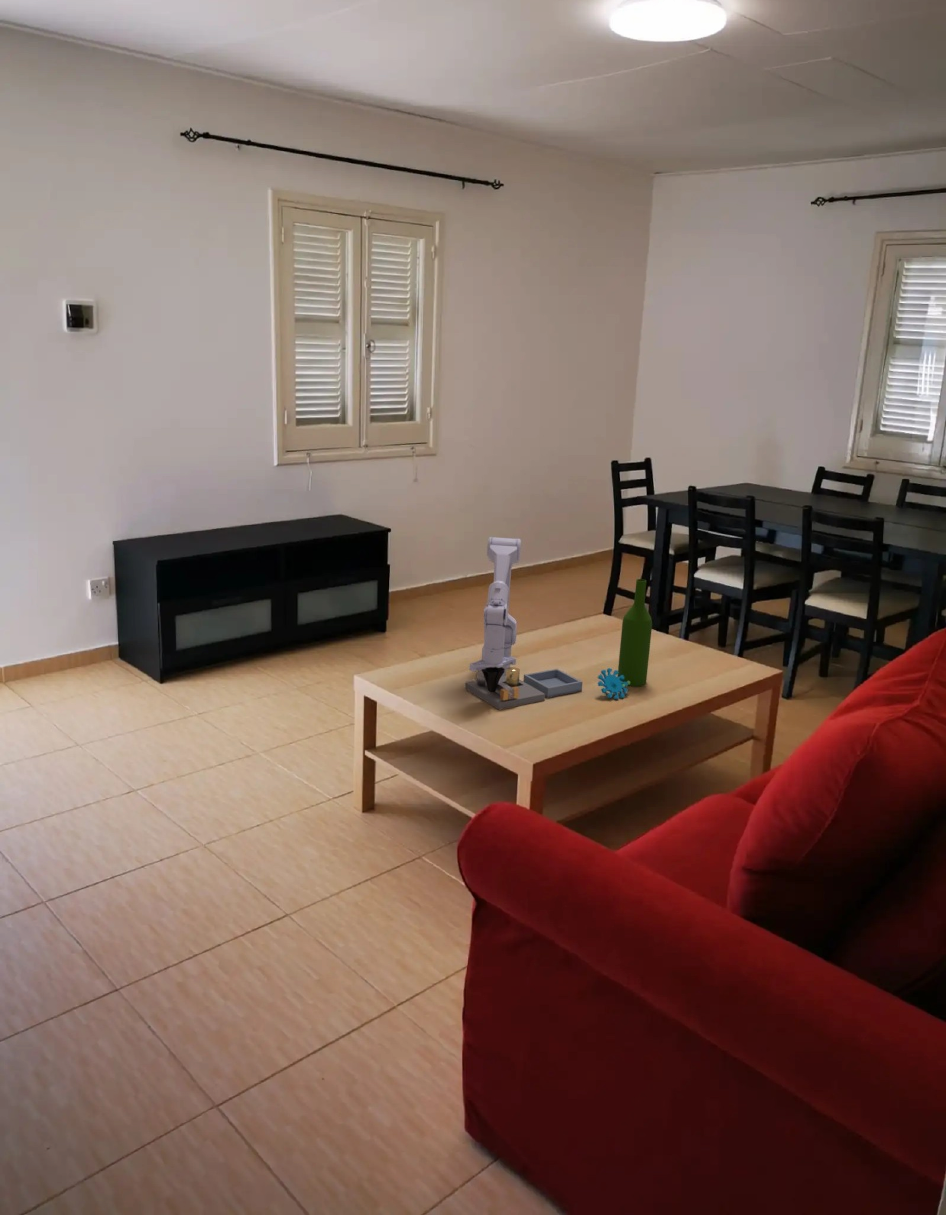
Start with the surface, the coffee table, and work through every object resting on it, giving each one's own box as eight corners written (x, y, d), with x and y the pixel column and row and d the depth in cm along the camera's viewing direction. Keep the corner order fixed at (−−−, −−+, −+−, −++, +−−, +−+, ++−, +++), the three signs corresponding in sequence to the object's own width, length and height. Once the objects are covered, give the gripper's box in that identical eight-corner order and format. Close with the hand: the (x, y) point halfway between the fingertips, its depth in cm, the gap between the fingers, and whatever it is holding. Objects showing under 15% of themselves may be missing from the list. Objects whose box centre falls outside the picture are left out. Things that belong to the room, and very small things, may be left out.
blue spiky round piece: (604, 697, 274) (596, 666, 278) (593, 705, 278) (586, 675, 283) (635, 698, 278) (627, 667, 283) (625, 706, 283) (617, 676, 288)
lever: (472, 682, 279) (473, 671, 278) (487, 679, 281) (488, 668, 280) (503, 701, 266) (503, 689, 265) (518, 698, 268) (519, 686, 267)
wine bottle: (623, 674, 298) (632, 574, 289) (650, 680, 294) (660, 579, 285) (612, 682, 290) (621, 580, 281) (640, 688, 286) (650, 585, 277)
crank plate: (465, 688, 280) (465, 682, 279) (510, 680, 288) (510, 674, 288) (498, 709, 265) (499, 702, 265) (544, 700, 274) (545, 693, 273)
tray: (523, 683, 286) (523, 674, 285) (556, 677, 292) (557, 668, 292) (547, 697, 276) (548, 688, 275) (581, 691, 282) (582, 681, 281)
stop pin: (502, 688, 281) (503, 668, 279) (513, 686, 283) (514, 666, 281) (510, 693, 278) (511, 672, 276) (521, 691, 280) (522, 670, 278)
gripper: (479, 653, 260) (477, 699, 264) (523, 647, 267) (520, 691, 271) (466, 646, 266) (464, 691, 269) (509, 639, 273) (506, 683, 277)
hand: (491, 691), depth 271 cm, fingers closed
